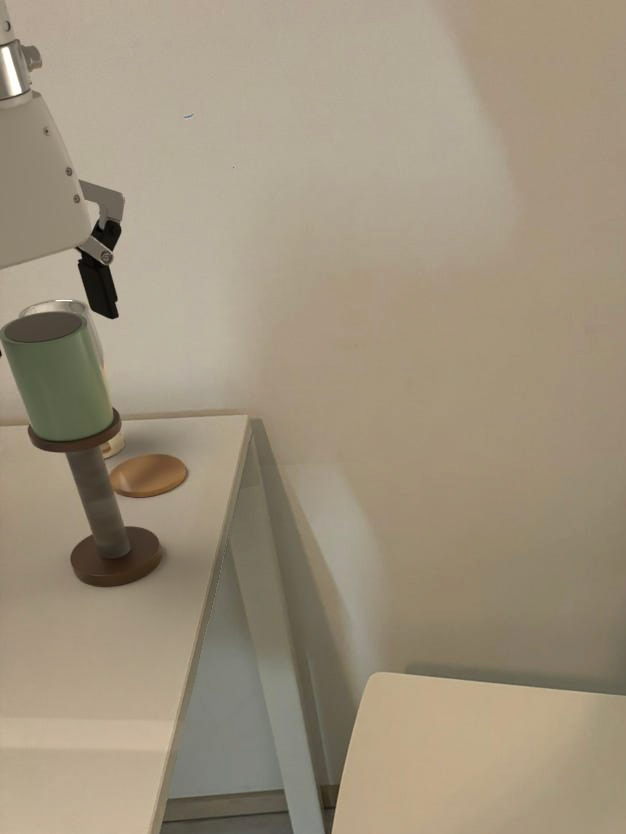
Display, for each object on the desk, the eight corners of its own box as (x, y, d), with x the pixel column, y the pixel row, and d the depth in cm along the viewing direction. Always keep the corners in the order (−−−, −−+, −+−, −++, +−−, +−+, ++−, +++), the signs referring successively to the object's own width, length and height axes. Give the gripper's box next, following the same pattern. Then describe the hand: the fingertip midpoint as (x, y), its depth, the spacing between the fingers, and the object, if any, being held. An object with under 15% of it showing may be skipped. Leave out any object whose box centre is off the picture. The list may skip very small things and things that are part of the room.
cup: (19, 441, 74) (-17, 343, 69) (50, 403, 79) (18, 309, 74) (99, 442, 74) (69, 344, 69) (125, 404, 79) (98, 310, 74)
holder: (60, 586, 83) (7, 445, 74) (91, 535, 89) (45, 399, 80) (147, 587, 83) (105, 446, 74) (172, 536, 89) (135, 400, 79)
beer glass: (137, 451, 101) (100, 315, 91) (72, 470, 98) (26, 331, 88) (117, 425, 105) (78, 292, 95) (54, 443, 102) (7, 308, 92)
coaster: (99, 496, 94) (98, 491, 94) (123, 458, 100) (122, 453, 99) (174, 497, 94) (173, 492, 93) (194, 459, 100) (193, 454, 99)
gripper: (57, 51, 67) (121, 289, 78) (-200, 93, 58) (-85, 358, 69) (114, 63, 63) (173, 312, 75) (-152, 110, 54) (-38, 387, 65)
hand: (49, 334), depth 72 cm, fingers open, 9 cm apart
